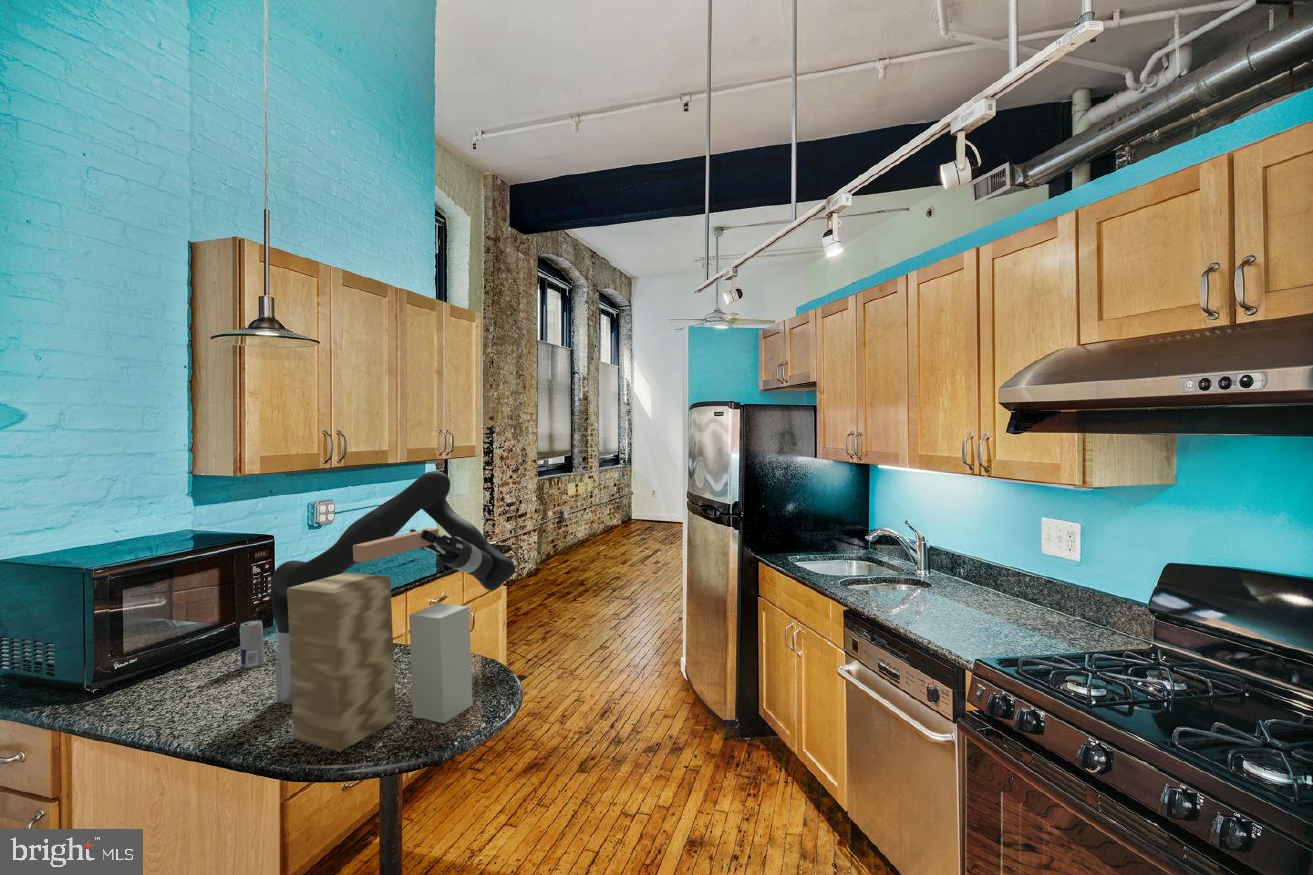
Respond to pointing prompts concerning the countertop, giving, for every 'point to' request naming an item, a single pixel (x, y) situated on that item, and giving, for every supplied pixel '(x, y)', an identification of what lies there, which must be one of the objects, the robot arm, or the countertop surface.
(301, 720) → the oak stand
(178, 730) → the countertop surface
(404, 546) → the terracotta bar
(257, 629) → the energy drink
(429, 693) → the grey block
